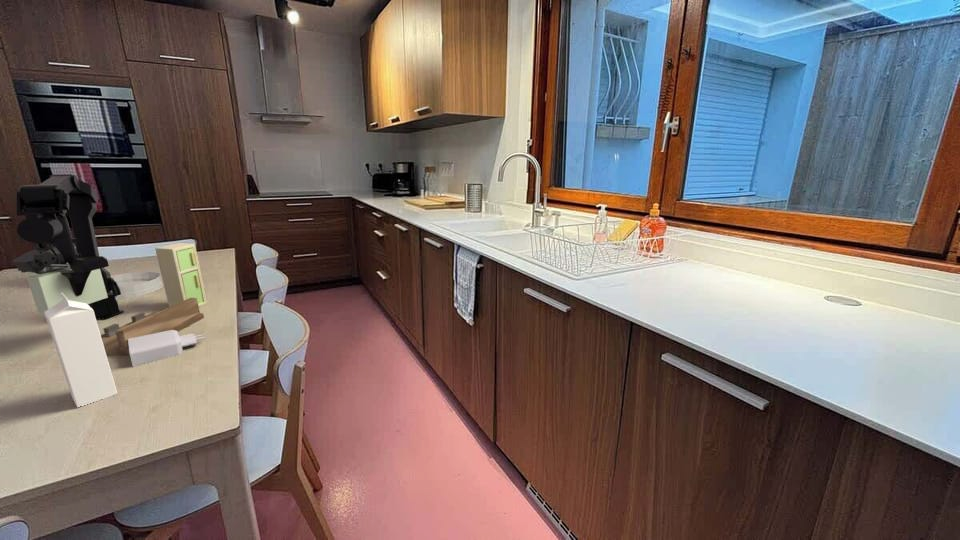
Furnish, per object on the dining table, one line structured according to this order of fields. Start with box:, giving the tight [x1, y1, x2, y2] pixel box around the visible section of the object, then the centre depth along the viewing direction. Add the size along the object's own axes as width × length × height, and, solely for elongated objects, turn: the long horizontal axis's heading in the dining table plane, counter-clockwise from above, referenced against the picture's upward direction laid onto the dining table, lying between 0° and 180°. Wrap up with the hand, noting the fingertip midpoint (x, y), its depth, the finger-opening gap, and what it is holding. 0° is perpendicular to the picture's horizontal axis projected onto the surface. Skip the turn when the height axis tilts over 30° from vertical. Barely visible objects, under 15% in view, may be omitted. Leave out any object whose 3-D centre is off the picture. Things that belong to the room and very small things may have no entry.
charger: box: [128, 330, 206, 368], centre depth 98 cm, size 5×9×15 cm
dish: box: [111, 271, 164, 302], centre depth 142 cm, size 22×22×5 cm
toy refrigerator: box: [155, 242, 208, 308], centre depth 125 cm, size 8×7×21 cm
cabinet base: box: [100, 298, 205, 356], centre depth 107 cm, size 16×24×6 cm, turn 177°
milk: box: [44, 293, 118, 408], centre depth 76 cm, size 6×6×22 cm
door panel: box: [26, 267, 108, 318], centre depth 100 cm, size 3×14×10 cm, turn 176°
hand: (72, 295), depth 100 cm, fingers closed on door panel, 3 cm apart
